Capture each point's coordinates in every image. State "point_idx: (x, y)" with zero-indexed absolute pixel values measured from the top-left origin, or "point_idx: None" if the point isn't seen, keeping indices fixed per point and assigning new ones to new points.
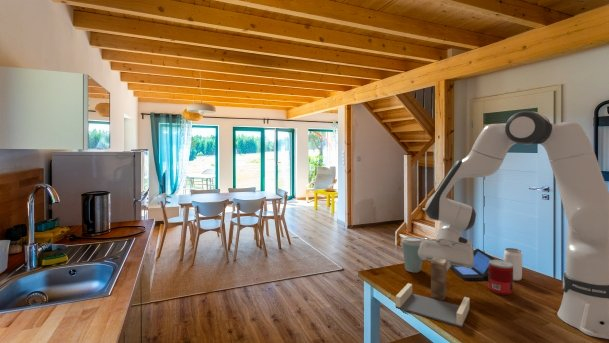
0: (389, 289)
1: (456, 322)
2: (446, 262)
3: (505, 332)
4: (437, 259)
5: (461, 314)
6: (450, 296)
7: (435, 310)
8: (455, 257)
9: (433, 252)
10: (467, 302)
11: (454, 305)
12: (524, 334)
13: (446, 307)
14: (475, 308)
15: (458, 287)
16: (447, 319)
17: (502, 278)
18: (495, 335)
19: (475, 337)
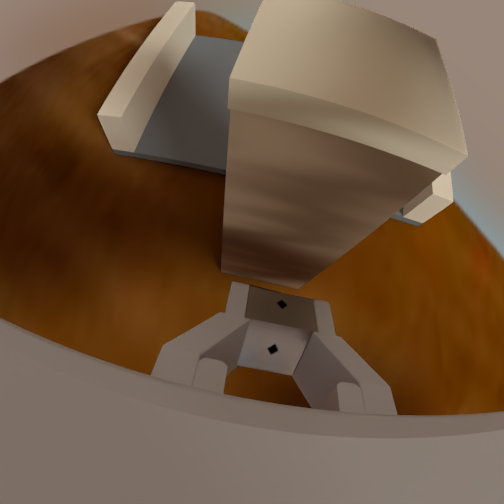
0: (486, 245)
1: (194, 31)
2: (230, 114)
3: (52, 68)
4: (391, 73)
5: (178, 2)
6: (192, 283)
7: None
8: (15, 407)
9: (500, 487)
10: (124, 70)
11: (180, 149)
12: (8, 85)
13: (222, 118)
14: (82, 182)
15: None
16: (223, 47)
17: None
18: (88, 44)
19: (150, 19)
